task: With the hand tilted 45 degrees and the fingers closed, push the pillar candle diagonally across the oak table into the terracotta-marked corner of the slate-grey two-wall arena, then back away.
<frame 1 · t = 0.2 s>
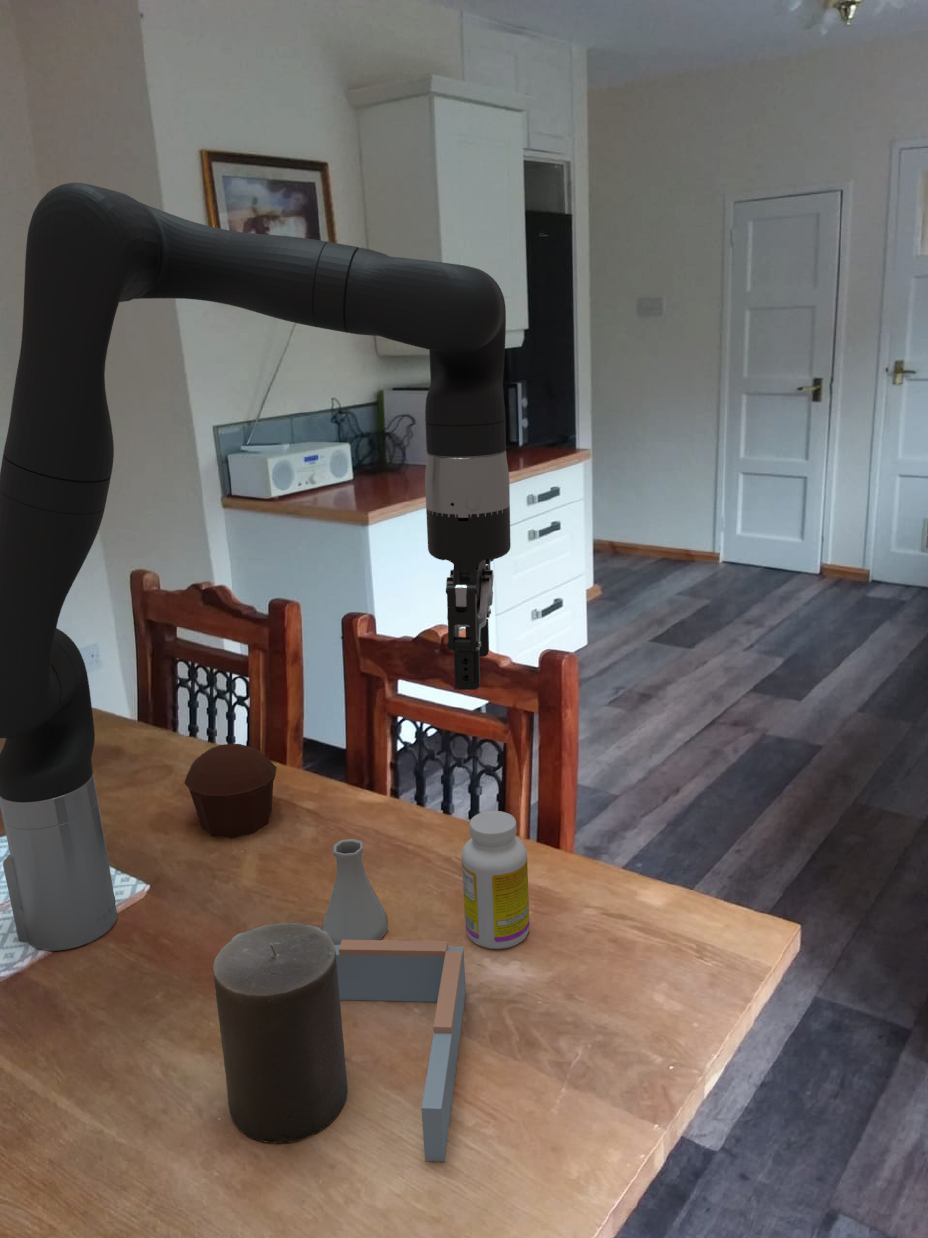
hand: (473, 671, 93), 29 cm above the table, tool pointing down, fingers open, 8 cm apart
pillar candle: (290, 1098, 82), on the table
flask: (355, 932, 103), on the table
supplement bottle: (497, 933, 102), on the table
muffin: (237, 822, 127), on the table
corner arena: (448, 1002, 92), on the table
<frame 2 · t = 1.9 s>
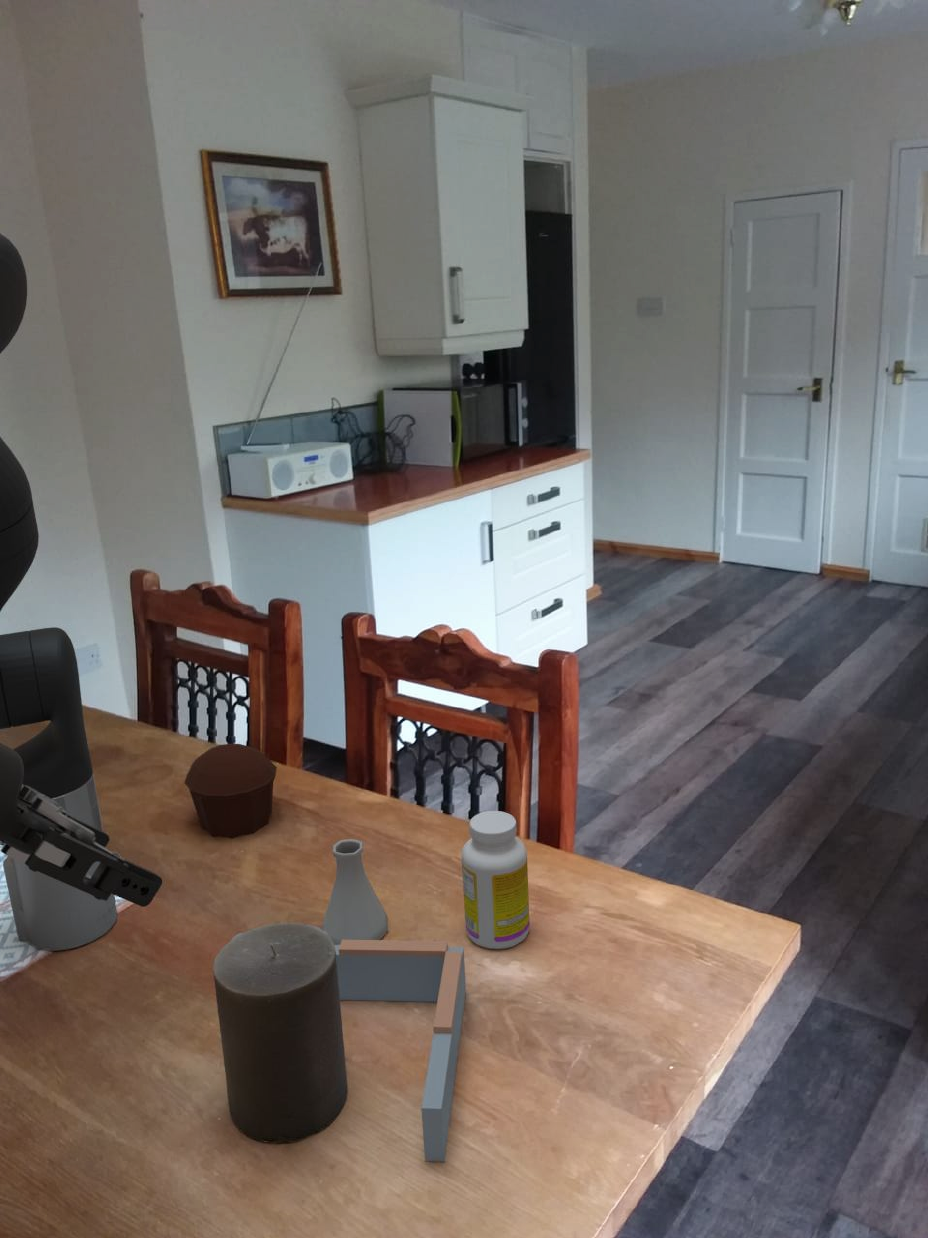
hand: (126, 869, 70), 25 cm above the table, tool tilted 45°, fingers open, 8 cm apart
nothing on the table moved.
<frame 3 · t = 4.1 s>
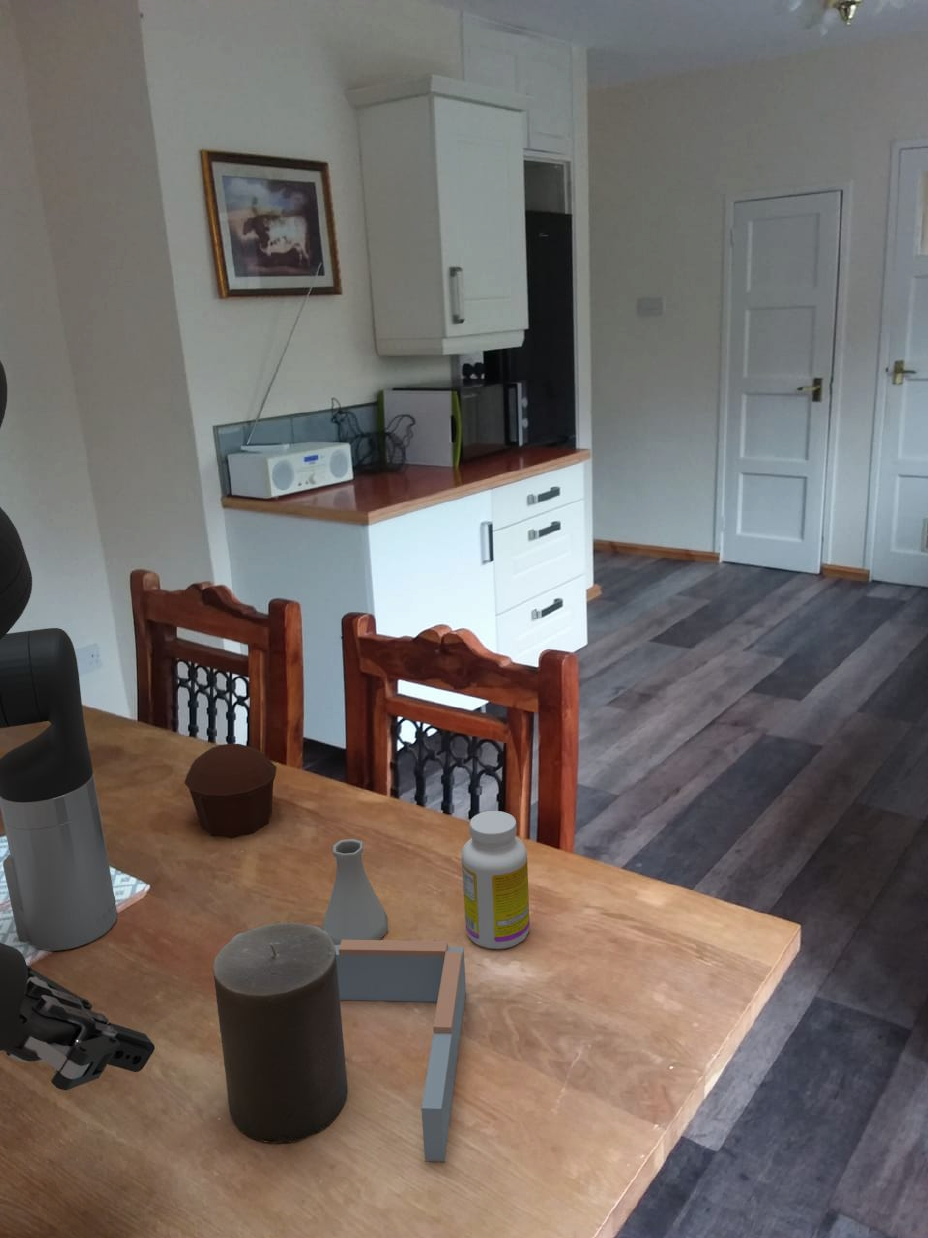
hand: (144, 1054, 72), 11 cm above the table, tool tilted 45°, fingers closed
nothing on the table moved.
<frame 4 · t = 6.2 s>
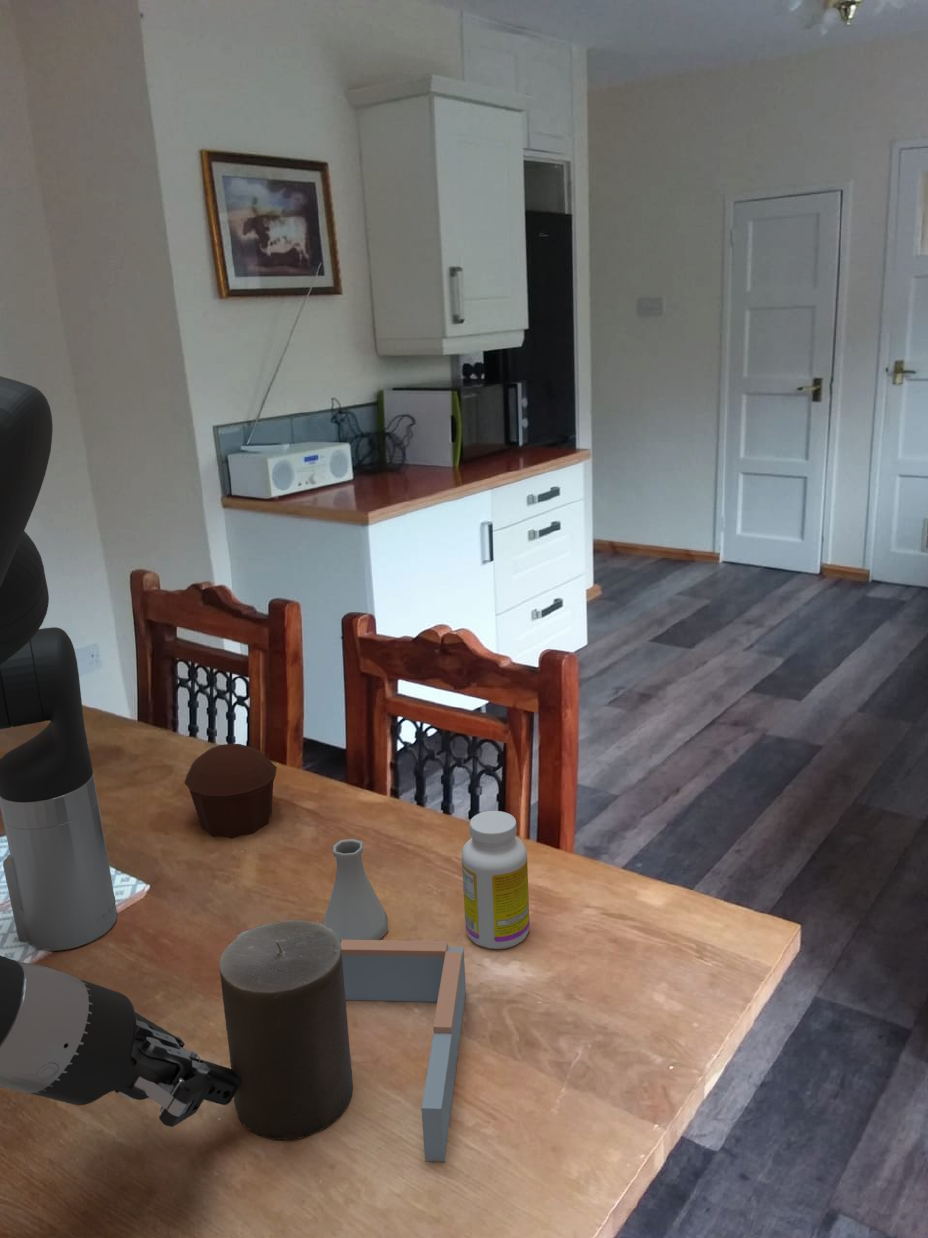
hand: (231, 1088, 77), 4 cm above the table, tool tilted 45°, fingers closed
pillar candle: (296, 1095, 82), on the table, touching gripper
everything else where it was.
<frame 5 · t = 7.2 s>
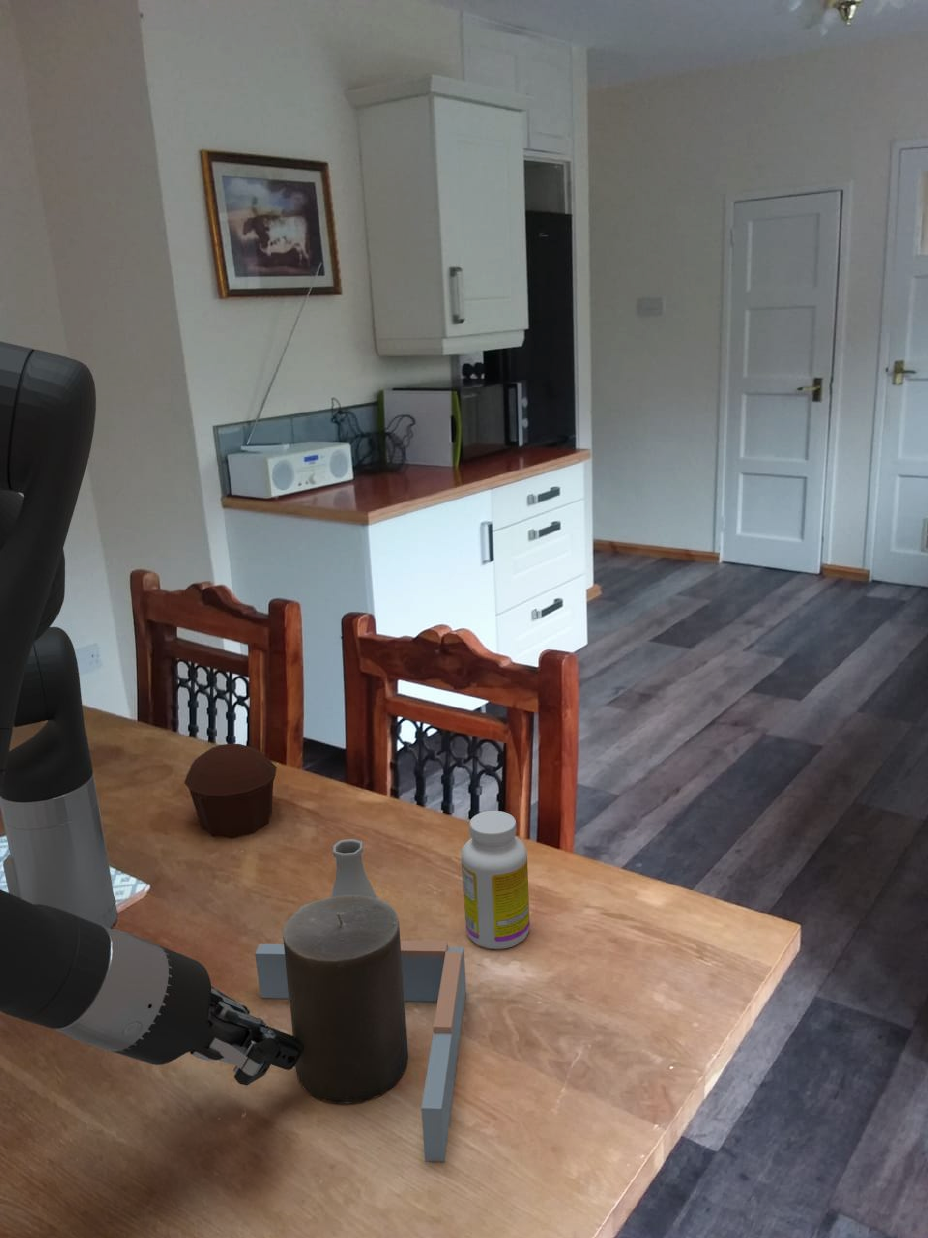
hand: (293, 1054, 81), 4 cm above the table, tool tilted 45°, fingers closed
pillar candle: (353, 1063, 85), on the table, touching gripper
everything else where it was.
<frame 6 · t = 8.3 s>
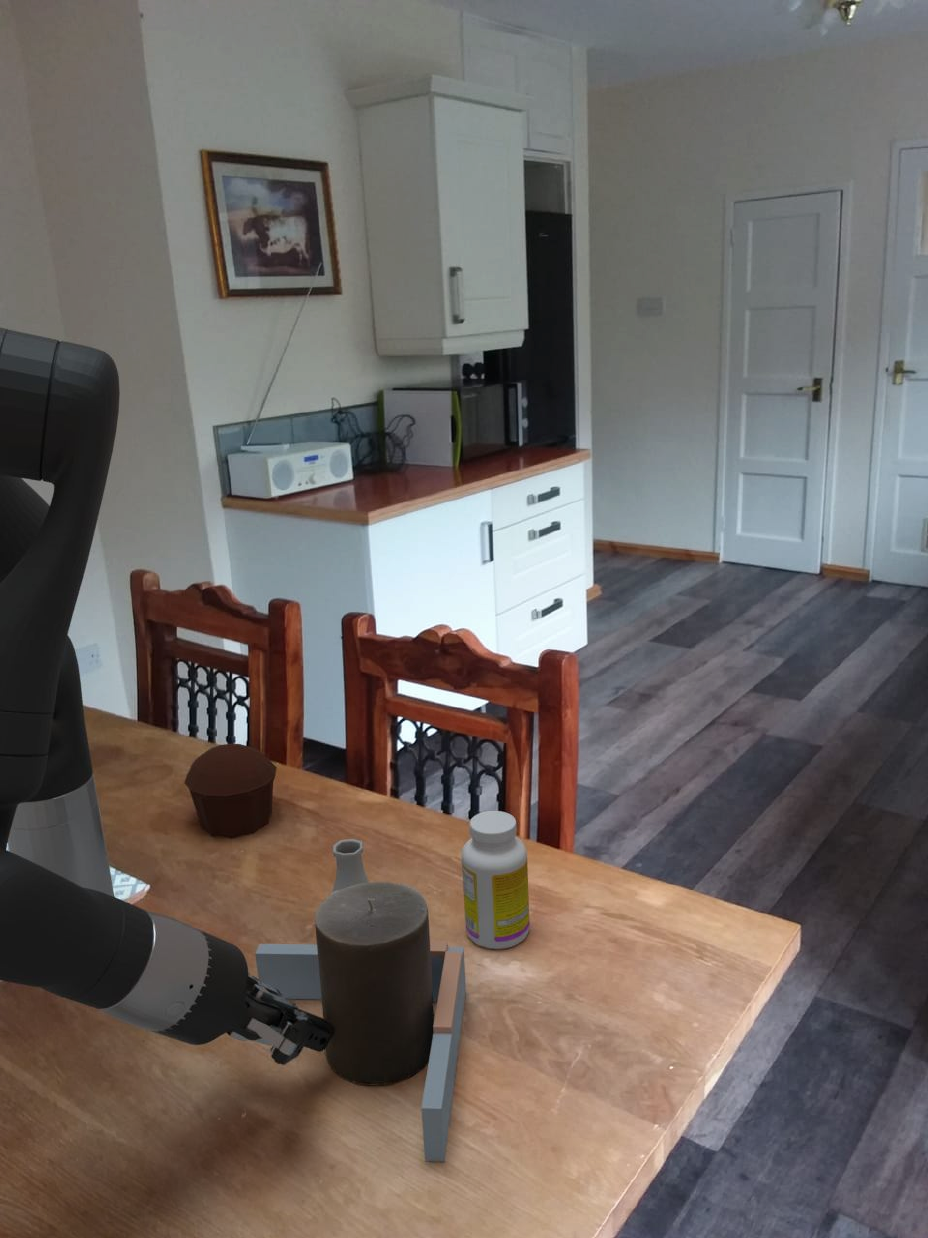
hand: (324, 1036, 83), 4 cm above the table, tool tilted 45°, fingers closed
pillar candle: (382, 1046, 87), on the table, touching gripper
everything else where it was.
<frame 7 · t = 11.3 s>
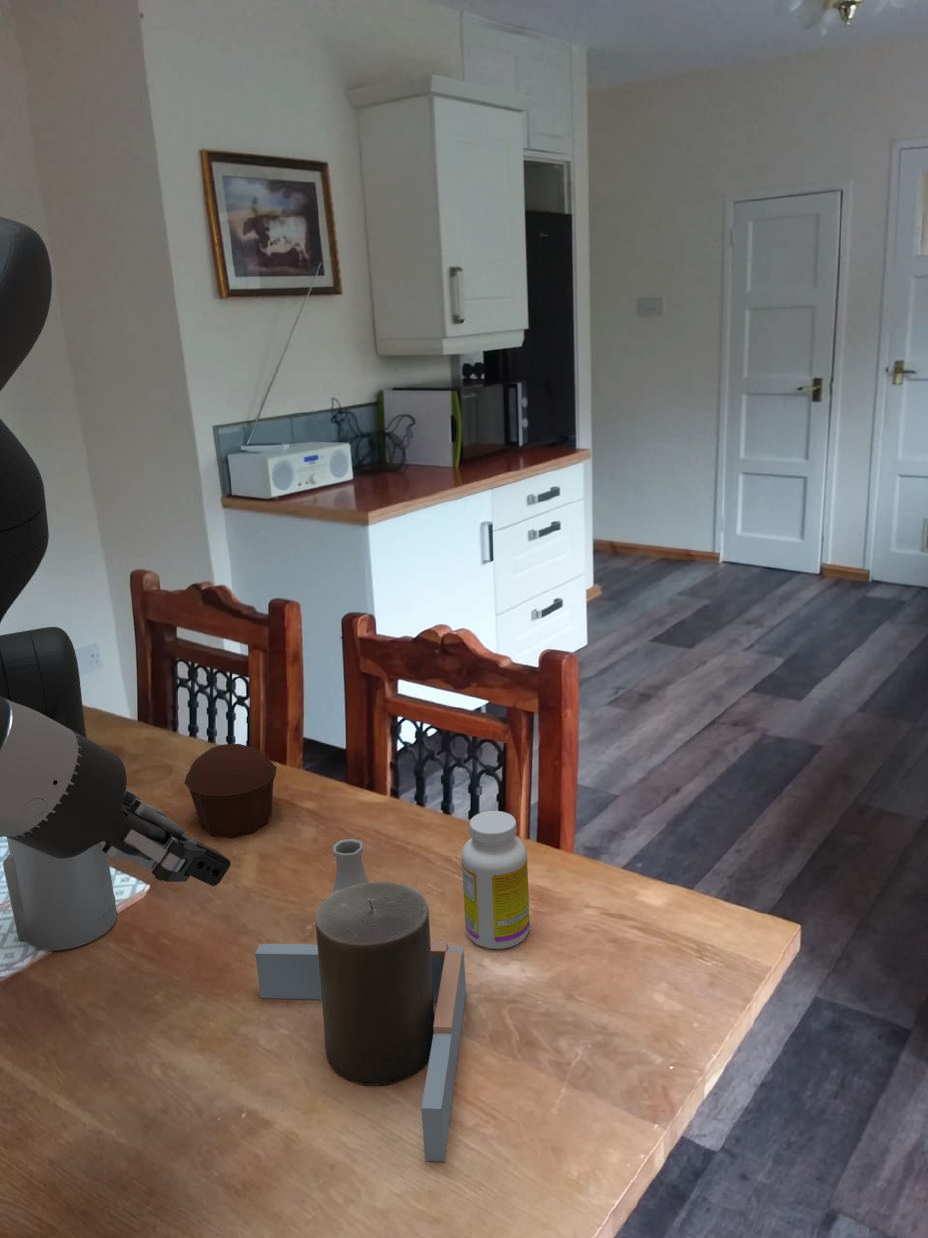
hand: (219, 870, 74), 22 cm above the table, tool tilted 45°, fingers closed
pillar candle: (382, 1046, 87), on the table
everything else where it was.
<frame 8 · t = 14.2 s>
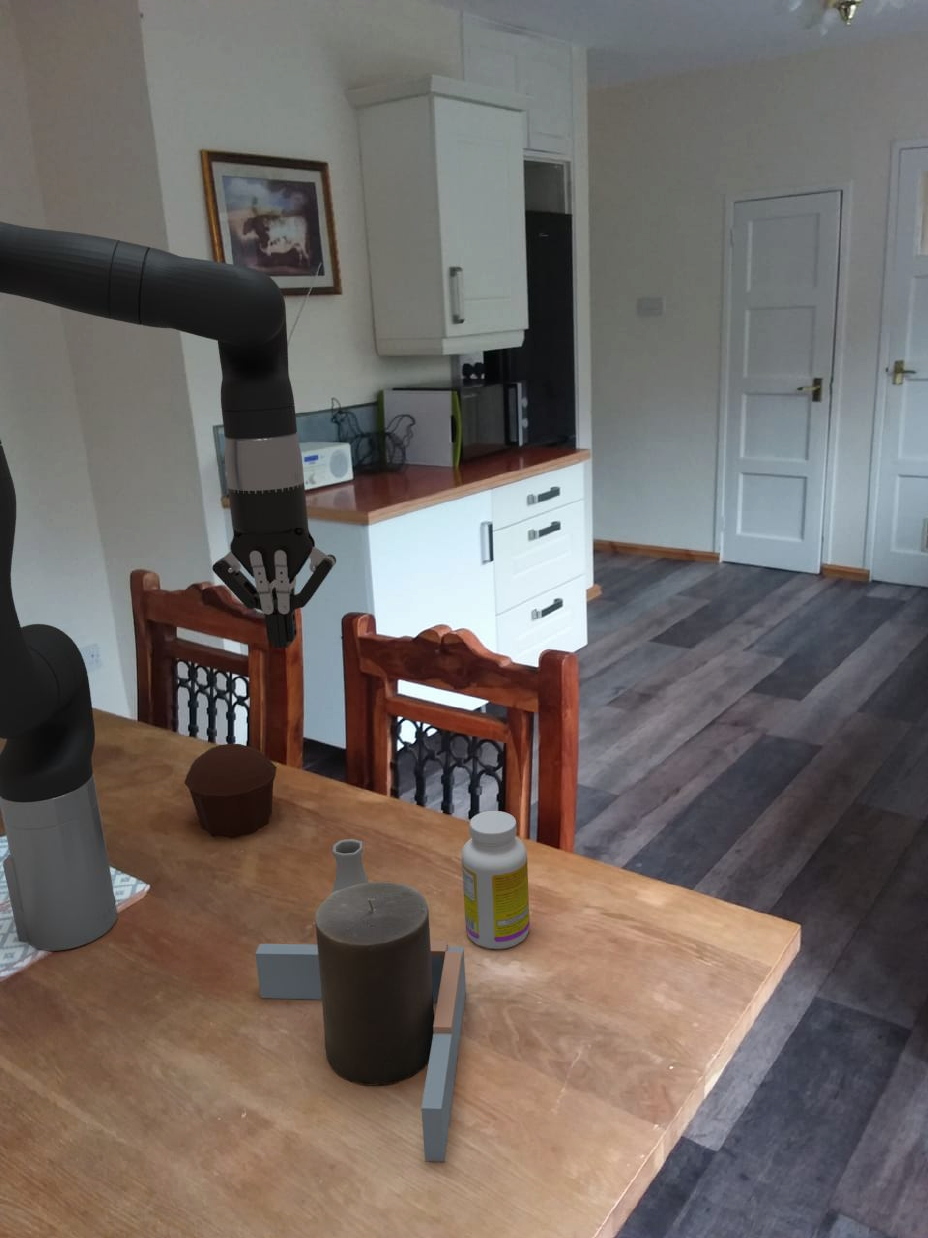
hand: (282, 645, 103), 29 cm above the table, tool pointing down, fingers closed
nothing on the table moved.
at the end: pillar candle inside the target area (0.5 cm from its centre), on the table; pillar candle tilted 0°; pillar candle moved 9.2 cm from its start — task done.
